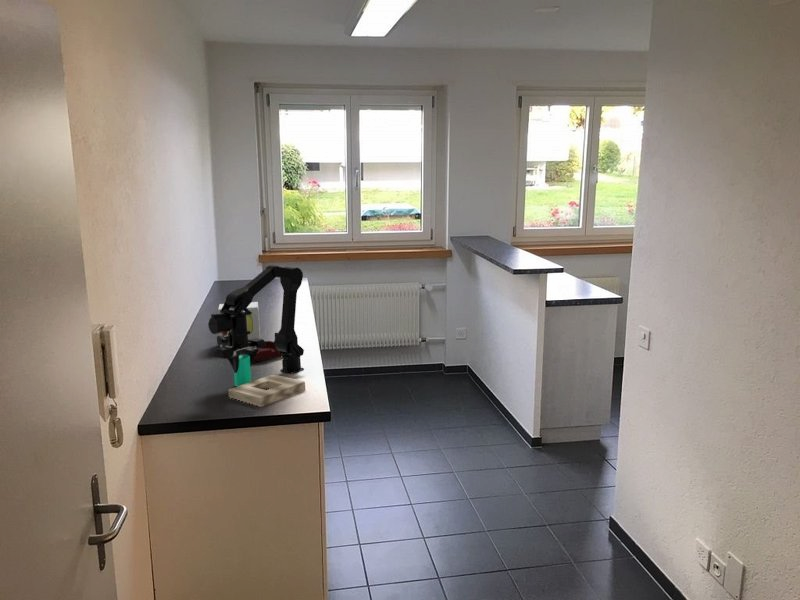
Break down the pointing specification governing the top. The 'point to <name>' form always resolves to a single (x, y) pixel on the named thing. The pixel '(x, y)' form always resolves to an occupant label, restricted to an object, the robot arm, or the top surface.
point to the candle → (243, 371)
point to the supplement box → (248, 322)
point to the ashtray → (267, 352)
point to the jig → (261, 396)
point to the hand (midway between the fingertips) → (242, 371)
